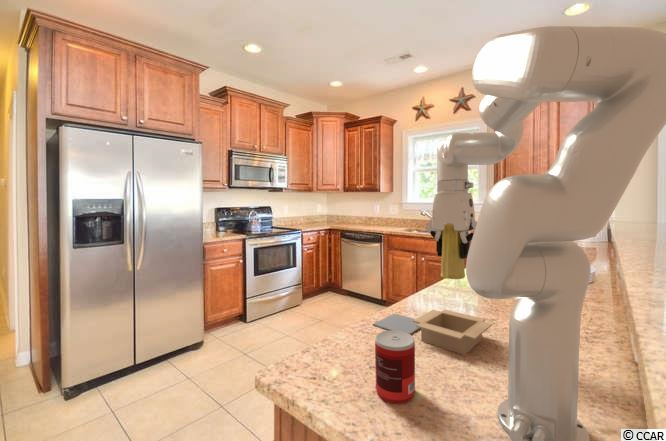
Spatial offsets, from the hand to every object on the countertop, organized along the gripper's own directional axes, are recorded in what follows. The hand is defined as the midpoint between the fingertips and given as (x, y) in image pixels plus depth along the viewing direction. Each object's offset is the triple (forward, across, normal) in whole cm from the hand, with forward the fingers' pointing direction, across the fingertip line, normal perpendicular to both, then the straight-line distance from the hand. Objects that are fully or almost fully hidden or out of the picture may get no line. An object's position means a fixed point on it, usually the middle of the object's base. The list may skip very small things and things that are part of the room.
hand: (452, 256), depth 84 cm
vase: (+6, 0, 0) cm, 6 cm away
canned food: (+23, -2, +30) cm, 38 cm away
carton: (+23, 0, 0) cm, 23 cm away
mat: (+23, +16, 0) cm, 28 cm away
